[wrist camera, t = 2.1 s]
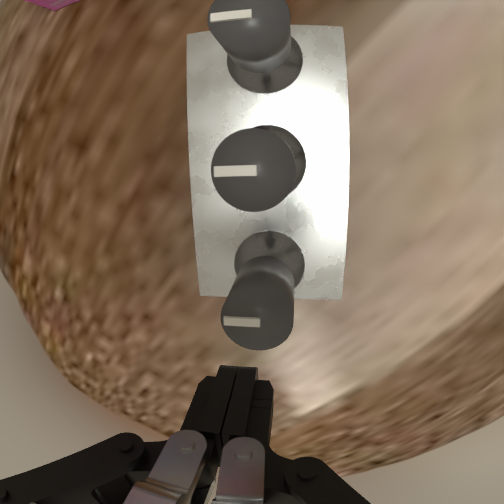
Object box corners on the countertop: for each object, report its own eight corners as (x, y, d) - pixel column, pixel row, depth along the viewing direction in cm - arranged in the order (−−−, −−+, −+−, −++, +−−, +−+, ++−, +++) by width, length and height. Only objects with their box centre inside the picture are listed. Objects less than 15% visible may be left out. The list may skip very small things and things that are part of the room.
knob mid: (294, 132, 18) (295, 127, 13) (295, 196, 19) (295, 213, 14) (230, 134, 18) (208, 130, 14) (232, 196, 20) (211, 213, 15)
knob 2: (295, 256, 20) (294, 291, 16) (293, 309, 22) (291, 353, 17) (235, 255, 21) (217, 288, 16) (238, 307, 22) (222, 350, 17)
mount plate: (336, 42, 21) (343, 25, 17) (336, 280, 29) (341, 300, 25) (201, 47, 23) (186, 33, 19) (211, 277, 30) (199, 296, 26)
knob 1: (289, 18, 15) (287, -19, 10) (292, 72, 17) (291, 46, 12) (227, 22, 16) (206, -12, 11) (228, 74, 17) (206, 52, 12)
